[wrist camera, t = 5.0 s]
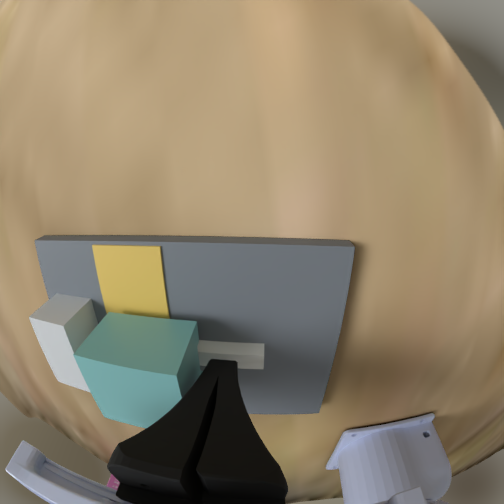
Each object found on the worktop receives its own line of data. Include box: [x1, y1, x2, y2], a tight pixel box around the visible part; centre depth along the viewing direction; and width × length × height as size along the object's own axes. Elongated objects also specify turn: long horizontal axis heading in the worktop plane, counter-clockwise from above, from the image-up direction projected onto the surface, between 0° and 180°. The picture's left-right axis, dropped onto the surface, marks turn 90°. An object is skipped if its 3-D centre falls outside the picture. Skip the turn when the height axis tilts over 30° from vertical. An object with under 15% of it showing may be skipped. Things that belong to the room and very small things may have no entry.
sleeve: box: [73, 312, 203, 428], centre depth 12 cm, size 5×5×4 cm
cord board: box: [29, 235, 355, 414], centre depth 13 cm, size 18×12×4 cm, turn 89°
